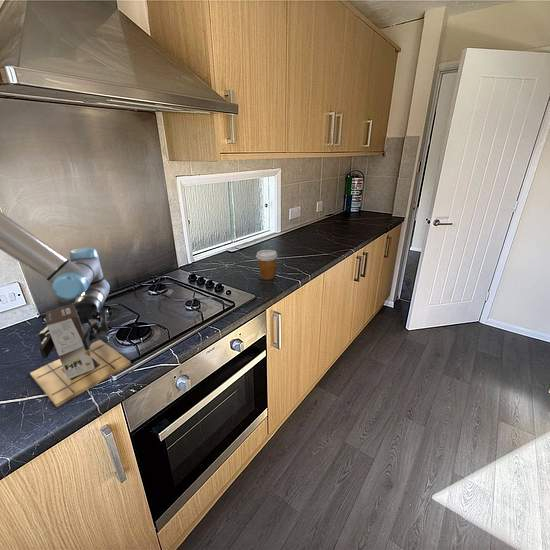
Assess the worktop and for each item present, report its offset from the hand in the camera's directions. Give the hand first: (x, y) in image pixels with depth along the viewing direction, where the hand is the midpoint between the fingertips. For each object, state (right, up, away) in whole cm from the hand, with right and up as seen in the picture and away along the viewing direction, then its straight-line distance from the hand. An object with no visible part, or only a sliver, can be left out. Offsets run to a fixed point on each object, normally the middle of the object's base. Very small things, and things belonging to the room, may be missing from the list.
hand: (64, 349), depth 71 cm
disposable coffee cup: (+48, +17, +63) cm, 80 cm away
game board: (-1, -8, +8) cm, 12 cm away
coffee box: (-1, -6, +8) cm, 10 cm away
